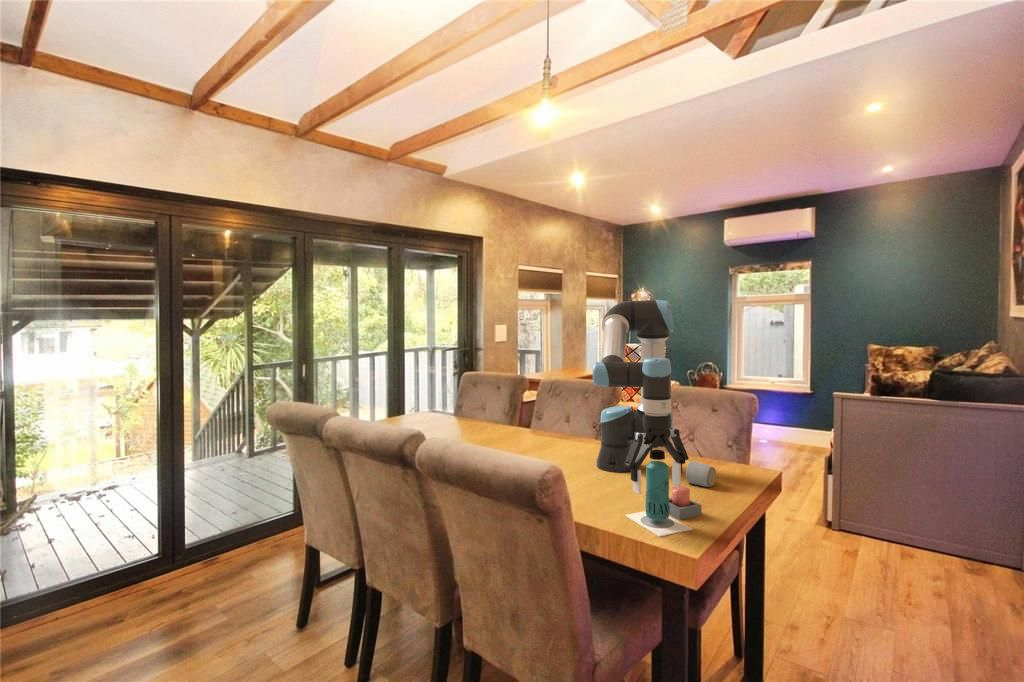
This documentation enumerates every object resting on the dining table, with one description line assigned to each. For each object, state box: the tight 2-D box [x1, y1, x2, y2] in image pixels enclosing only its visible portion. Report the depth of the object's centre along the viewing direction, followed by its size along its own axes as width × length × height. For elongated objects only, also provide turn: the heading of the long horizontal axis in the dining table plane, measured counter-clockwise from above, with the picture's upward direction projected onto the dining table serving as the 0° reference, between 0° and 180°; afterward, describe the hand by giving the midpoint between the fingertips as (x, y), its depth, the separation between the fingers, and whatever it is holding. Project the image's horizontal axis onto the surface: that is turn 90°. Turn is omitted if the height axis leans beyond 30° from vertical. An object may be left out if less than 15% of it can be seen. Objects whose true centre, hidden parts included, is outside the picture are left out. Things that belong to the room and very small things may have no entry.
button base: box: [669, 497, 703, 521], centre depth 140 cm, size 8×8×3 cm
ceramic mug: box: [685, 460, 717, 488], centre depth 165 cm, size 11×8×8 cm
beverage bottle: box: [644, 448, 670, 520], centre depth 133 cm, size 6×7×20 cm
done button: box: [671, 485, 691, 507], centre depth 140 cm, size 5×5×5 cm
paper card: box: [624, 510, 693, 538], centre depth 133 cm, size 15×11×1 cm
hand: (657, 489), depth 133 cm, fingers open, 13 cm apart
